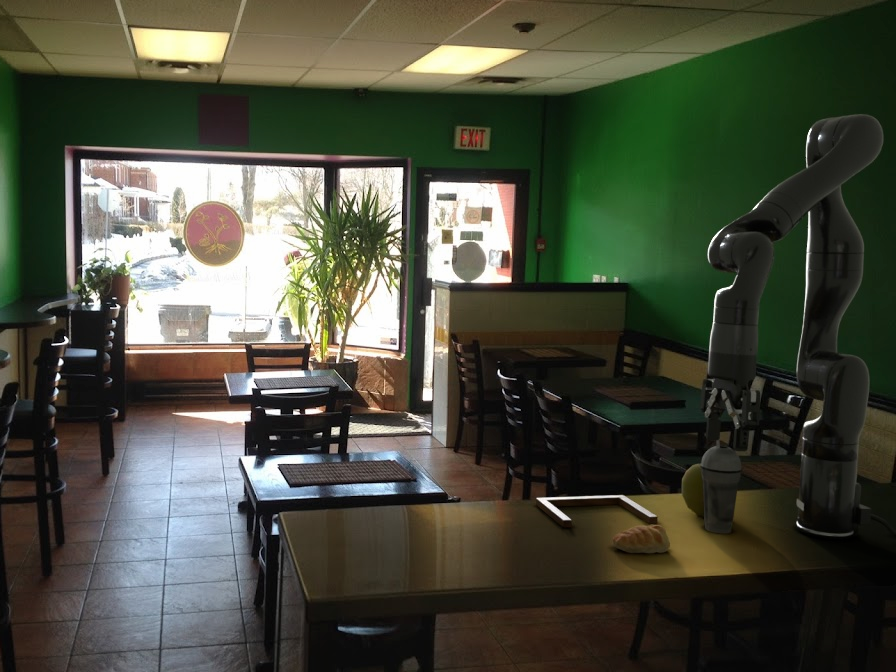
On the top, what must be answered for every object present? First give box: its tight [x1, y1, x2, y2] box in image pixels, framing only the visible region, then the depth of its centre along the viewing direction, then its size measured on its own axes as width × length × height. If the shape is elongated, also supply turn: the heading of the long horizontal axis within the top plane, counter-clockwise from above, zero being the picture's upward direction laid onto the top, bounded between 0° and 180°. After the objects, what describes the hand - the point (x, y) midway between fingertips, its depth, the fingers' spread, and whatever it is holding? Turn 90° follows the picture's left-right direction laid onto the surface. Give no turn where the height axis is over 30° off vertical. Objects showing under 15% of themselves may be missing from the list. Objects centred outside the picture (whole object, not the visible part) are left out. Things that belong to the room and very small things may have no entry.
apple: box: [681, 463, 704, 517], centre depth 173 cm, size 10×10×11 cm
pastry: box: [611, 524, 671, 554], centre depth 153 cm, size 9×7×4 cm
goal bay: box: [535, 494, 659, 528], centre depth 172 cm, size 19×15×1 cm
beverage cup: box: [700, 439, 743, 534], centre depth 164 cm, size 7×7×20 cm
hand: (725, 445), depth 151 cm, fingers open, 8 cm apart
